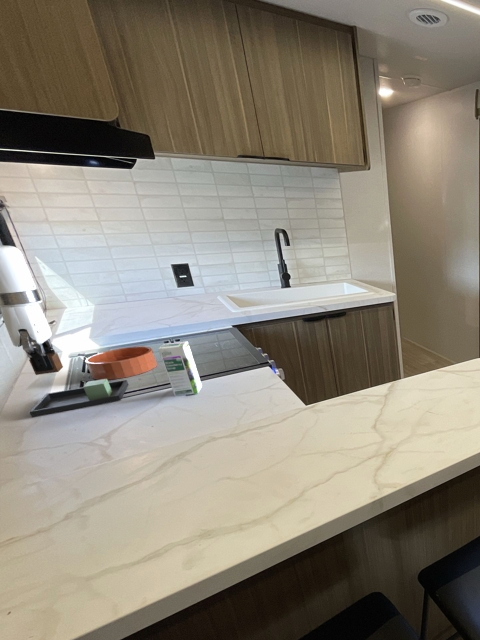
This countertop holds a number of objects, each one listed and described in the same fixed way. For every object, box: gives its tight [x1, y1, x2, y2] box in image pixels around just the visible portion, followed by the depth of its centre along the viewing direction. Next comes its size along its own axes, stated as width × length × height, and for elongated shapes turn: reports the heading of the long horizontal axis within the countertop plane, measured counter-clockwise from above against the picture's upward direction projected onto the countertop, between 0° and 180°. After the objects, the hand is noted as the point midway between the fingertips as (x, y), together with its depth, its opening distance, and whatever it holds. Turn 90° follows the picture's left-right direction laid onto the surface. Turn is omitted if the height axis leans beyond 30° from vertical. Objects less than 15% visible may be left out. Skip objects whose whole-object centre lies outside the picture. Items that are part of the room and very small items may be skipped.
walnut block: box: [28, 352, 64, 376], centre depth 105 cm, size 4×4×4 cm
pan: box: [29, 379, 129, 418], centre depth 111 cm, size 17×13×2 cm
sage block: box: [83, 379, 112, 400], centre depth 112 cm, size 4×4×4 cm
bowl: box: [84, 346, 158, 381], centre depth 130 cm, size 16×16×6 cm
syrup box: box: [158, 340, 203, 397], centre depth 114 cm, size 6×6×14 cm
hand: (47, 366), depth 106 cm, fingers closed on walnut block, 4 cm apart
